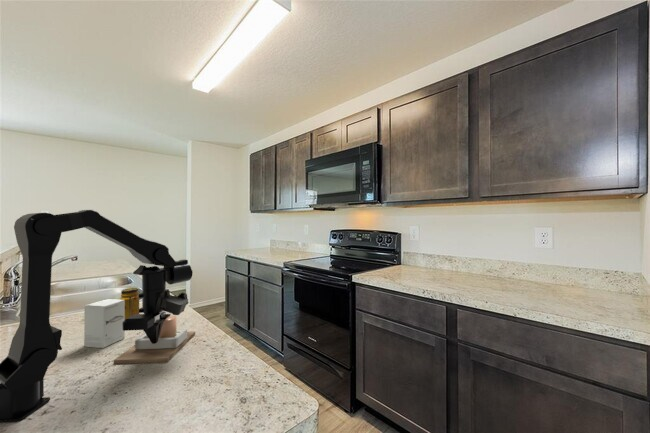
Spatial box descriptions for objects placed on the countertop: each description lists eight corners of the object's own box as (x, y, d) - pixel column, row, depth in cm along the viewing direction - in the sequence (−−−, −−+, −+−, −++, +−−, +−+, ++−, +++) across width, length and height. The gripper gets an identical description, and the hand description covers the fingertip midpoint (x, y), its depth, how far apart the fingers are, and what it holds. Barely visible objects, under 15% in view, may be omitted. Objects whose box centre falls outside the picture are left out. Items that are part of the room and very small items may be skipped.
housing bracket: (176, 347, 80) (176, 339, 80) (135, 349, 80) (135, 340, 80) (187, 337, 88) (187, 329, 88) (149, 338, 87) (149, 330, 87)
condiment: (114, 323, 105) (114, 290, 105) (136, 315, 113) (136, 285, 113) (128, 325, 102) (127, 292, 102) (149, 317, 110) (149, 287, 110)
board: (167, 361, 75) (167, 357, 75) (113, 363, 74) (113, 359, 74) (195, 334, 93) (195, 331, 93) (151, 335, 92) (151, 332, 92)
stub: (171, 341, 86) (171, 321, 86) (154, 341, 86) (154, 321, 86) (179, 334, 91) (179, 315, 91) (163, 334, 91) (163, 315, 91)
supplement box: (103, 348, 83) (103, 306, 84) (83, 346, 85) (83, 305, 85) (125, 338, 91) (125, 299, 91) (106, 336, 92) (106, 298, 92)
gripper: (166, 296, 71) (166, 358, 71) (196, 280, 89) (197, 329, 89) (120, 297, 70) (121, 360, 70) (160, 281, 89) (161, 330, 89)
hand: (154, 343), depth 79 cm, fingers closed
